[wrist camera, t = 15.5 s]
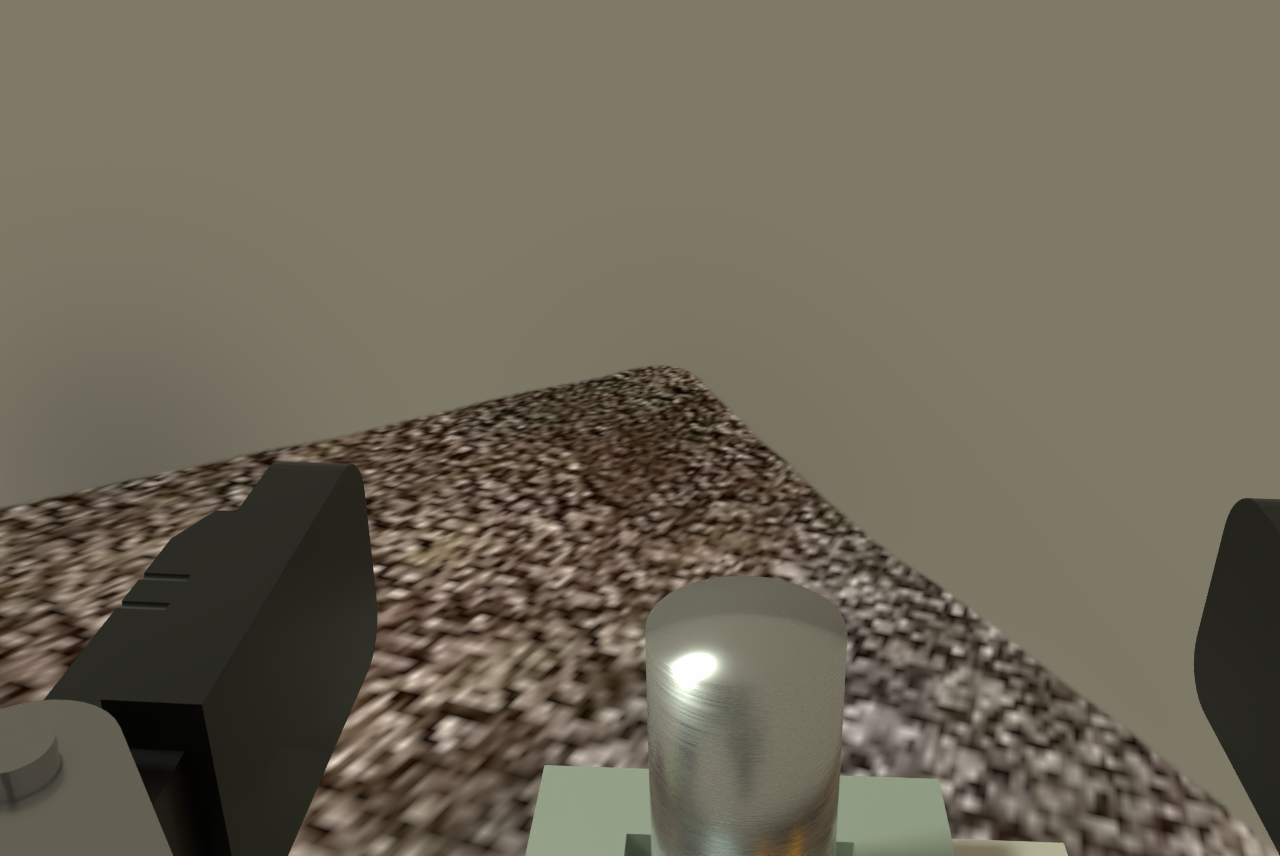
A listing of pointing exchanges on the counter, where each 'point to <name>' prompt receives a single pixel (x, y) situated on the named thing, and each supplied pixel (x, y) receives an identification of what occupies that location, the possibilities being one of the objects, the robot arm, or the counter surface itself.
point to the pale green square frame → (866, 827)
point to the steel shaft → (744, 719)
